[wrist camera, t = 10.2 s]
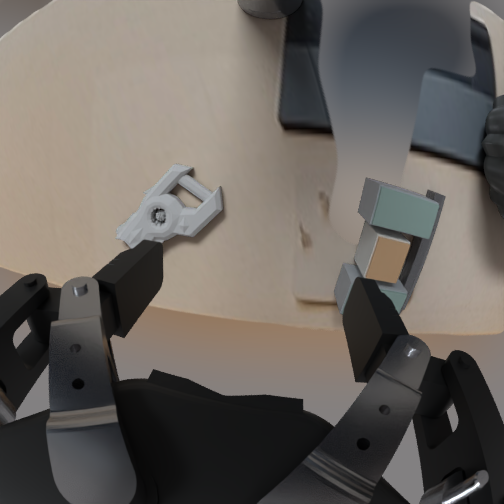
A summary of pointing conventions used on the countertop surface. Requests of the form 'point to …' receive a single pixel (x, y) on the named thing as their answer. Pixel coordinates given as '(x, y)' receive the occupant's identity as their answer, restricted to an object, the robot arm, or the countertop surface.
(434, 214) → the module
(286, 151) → the countertop surface
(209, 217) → the grey flat plastic piece
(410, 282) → the rail
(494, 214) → the countertop surface
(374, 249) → the block
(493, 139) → the bundt pan
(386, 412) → the robot arm
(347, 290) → the block
